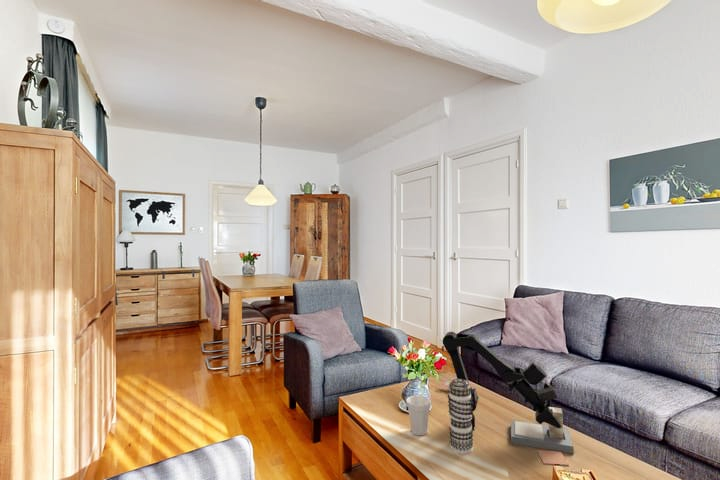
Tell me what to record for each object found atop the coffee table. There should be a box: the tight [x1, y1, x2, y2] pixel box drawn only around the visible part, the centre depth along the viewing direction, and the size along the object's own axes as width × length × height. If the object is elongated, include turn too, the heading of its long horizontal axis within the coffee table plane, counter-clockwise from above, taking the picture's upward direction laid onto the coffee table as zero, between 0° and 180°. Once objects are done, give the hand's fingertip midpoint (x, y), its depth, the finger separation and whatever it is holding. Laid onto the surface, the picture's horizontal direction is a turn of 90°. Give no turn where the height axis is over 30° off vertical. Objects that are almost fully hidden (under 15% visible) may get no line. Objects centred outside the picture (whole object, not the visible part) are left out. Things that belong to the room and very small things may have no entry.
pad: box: [536, 449, 570, 466], centre depth 132 cm, size 8×8×1 cm
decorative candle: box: [447, 378, 474, 455], centre depth 141 cm, size 9×9×25 cm
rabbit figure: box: [440, 381, 450, 390], centre depth 192 cm, size 6×6×15 cm
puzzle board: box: [510, 419, 575, 454], centre depth 145 cm, size 21×14×3 cm, turn 68°
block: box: [548, 406, 564, 440], centre depth 143 cm, size 4×4×12 cm
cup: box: [405, 395, 432, 436], centre depth 152 cm, size 10×10×13 cm
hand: (559, 424), depth 143 cm, fingers closed on block, 4 cm apart
